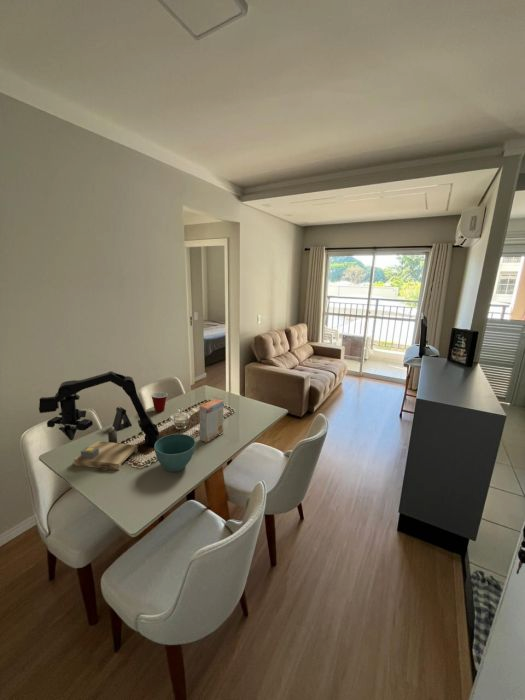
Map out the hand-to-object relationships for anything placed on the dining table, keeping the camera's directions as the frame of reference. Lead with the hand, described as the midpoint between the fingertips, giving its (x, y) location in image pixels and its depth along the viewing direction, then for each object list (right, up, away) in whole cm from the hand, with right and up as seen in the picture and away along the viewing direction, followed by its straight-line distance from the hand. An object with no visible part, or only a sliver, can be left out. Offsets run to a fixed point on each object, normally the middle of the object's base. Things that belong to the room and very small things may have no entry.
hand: (71, 439), depth 133 cm
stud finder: (+8, -8, +1) cm, 11 cm away
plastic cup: (+20, +1, +59) cm, 63 cm away
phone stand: (+6, -4, +36) cm, 36 cm away
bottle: (+10, -8, +17) cm, 22 cm away
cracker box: (+61, -8, +30) cm, 68 cm away
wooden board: (+14, -10, +5) cm, 18 cm away
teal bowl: (+49, -13, +1) cm, 51 cm away
